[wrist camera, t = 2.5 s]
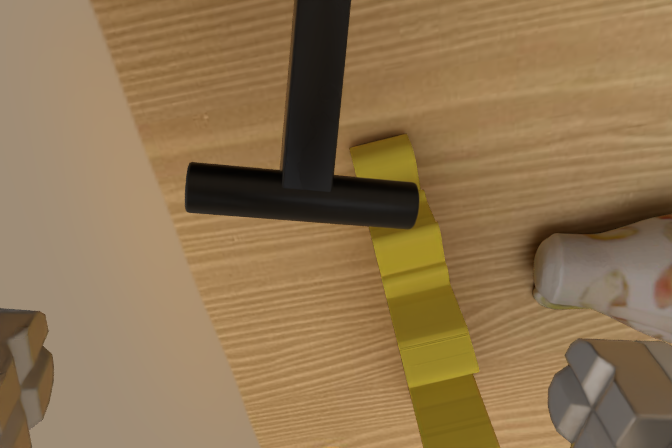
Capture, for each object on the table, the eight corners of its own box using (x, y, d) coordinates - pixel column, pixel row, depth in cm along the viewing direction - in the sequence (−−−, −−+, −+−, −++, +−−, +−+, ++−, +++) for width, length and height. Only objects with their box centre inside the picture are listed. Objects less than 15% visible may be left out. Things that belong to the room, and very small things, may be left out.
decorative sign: (347, 142, 29) (405, 372, 17) (404, 128, 29) (504, 350, 17) (410, 396, 41) (472, 644, 28) (451, 387, 40) (531, 633, 28)
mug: (514, 201, 32) (701, 263, 24) (617, 179, 37) (799, 225, 29) (498, 320, 35) (663, 411, 27) (596, 284, 40) (759, 352, 32)
